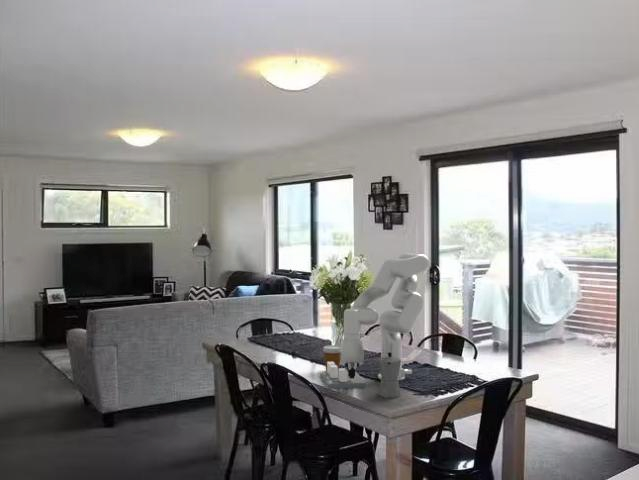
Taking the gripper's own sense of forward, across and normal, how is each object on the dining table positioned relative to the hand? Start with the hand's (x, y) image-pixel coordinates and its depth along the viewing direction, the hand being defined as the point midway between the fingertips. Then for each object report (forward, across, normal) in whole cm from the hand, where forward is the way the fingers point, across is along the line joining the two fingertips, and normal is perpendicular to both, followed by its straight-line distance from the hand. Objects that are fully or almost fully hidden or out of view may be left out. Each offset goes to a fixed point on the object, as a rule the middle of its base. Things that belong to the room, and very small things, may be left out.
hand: (351, 377), depth 271 cm
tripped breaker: (+1, +4, 0) cm, 4 cm away
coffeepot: (+4, -13, +16) cm, 21 cm away
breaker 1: (+1, +7, -14) cm, 16 cm away
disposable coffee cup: (+4, +4, -27) cm, 28 cm away
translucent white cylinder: (+3, -35, -38) cm, 52 cm away
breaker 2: (+1, +7, -7) cm, 10 cm away
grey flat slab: (+4, +3, -7) cm, 8 cm away
